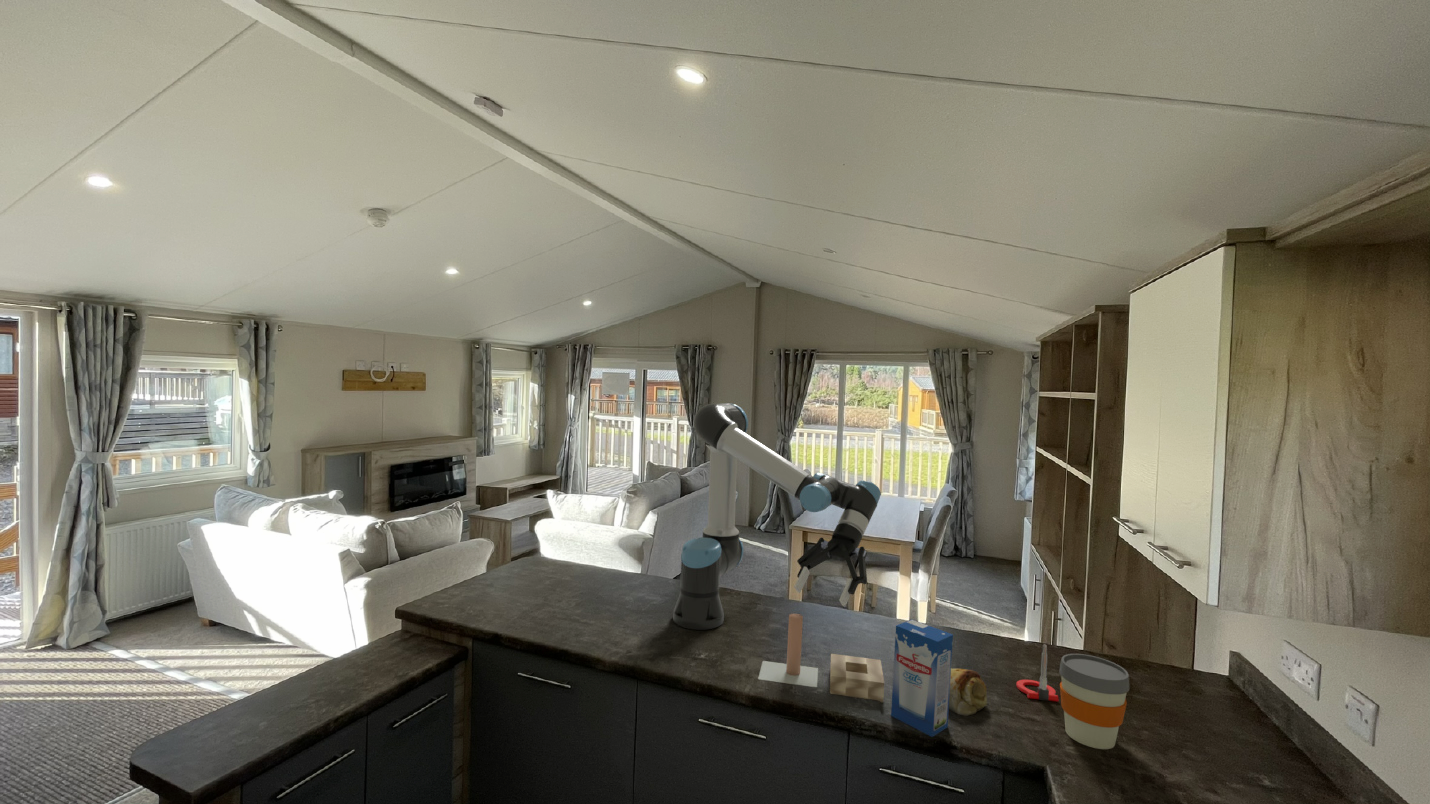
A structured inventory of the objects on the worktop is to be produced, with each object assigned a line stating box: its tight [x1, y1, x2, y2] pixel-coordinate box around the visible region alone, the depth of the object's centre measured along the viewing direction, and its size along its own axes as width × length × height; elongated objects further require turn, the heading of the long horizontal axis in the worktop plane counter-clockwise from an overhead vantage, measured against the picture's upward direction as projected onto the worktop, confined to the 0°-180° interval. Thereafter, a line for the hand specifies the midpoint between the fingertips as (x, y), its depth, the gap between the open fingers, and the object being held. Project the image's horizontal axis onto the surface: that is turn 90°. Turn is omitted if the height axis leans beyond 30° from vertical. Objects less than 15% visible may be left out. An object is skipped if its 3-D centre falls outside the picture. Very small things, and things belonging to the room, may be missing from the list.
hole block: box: [829, 653, 885, 703], centre depth 145 cm, size 12×12×4 cm
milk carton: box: [890, 619, 954, 738], centre depth 130 cm, size 10×6×20 cm, turn 40°
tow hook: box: [1015, 643, 1060, 702], centre depth 146 cm, size 8×13×9 cm
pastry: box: [949, 667, 988, 716], centre depth 141 cm, size 14×12×8 cm
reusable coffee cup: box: [1058, 653, 1130, 750], centre depth 128 cm, size 13×13×15 cm
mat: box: [757, 660, 819, 688], centre depth 149 cm, size 14×10×1 cm
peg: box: [786, 613, 804, 676], centre depth 150 cm, size 3×3×14 cm
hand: (818, 596), depth 157 cm, fingers open, 13 cm apart
